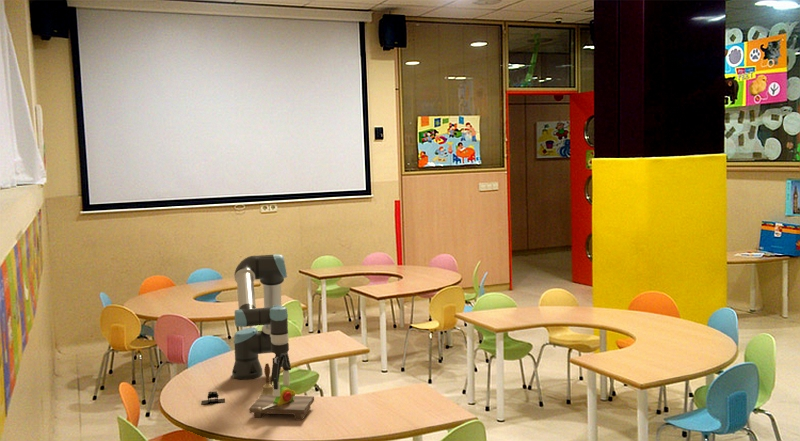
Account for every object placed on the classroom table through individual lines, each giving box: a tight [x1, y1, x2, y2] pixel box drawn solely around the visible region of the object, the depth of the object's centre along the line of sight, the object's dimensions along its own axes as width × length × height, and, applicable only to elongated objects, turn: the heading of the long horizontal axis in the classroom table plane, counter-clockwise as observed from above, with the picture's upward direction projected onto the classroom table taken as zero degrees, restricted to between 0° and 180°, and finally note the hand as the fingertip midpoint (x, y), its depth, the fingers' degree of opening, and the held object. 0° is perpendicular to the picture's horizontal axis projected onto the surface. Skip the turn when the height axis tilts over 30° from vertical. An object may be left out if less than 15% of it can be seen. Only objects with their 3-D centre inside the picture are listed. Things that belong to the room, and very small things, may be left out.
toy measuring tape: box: [257, 386, 297, 411], centre depth 307 cm, size 6×20×7 cm, turn 137°
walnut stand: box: [249, 394, 315, 421], centre depth 310 cm, size 16×24×5 cm, turn 82°
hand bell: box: [258, 363, 273, 398], centre depth 330 cm, size 8×8×16 cm
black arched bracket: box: [200, 390, 226, 406], centre depth 326 cm, size 13×8×5 cm, turn 103°
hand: (281, 390), depth 309 cm, fingers open, 13 cm apart
